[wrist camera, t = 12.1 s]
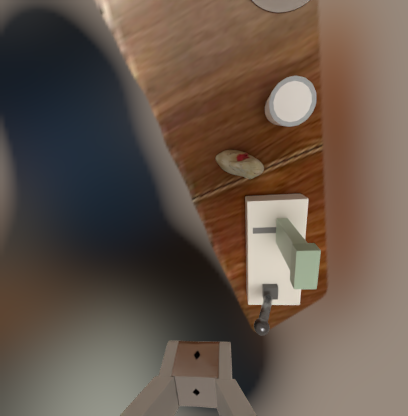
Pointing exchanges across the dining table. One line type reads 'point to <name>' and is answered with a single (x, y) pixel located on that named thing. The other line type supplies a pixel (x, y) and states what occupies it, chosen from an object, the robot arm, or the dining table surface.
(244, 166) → the chocolate bunny
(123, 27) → the dining table surface
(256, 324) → the graphite lever
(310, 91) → the white tapered cup
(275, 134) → the dining table surface
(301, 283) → the capped sage pillar
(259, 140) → the dining table surface
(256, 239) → the control bank
